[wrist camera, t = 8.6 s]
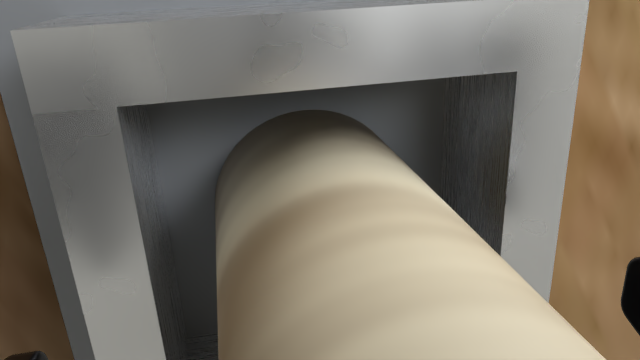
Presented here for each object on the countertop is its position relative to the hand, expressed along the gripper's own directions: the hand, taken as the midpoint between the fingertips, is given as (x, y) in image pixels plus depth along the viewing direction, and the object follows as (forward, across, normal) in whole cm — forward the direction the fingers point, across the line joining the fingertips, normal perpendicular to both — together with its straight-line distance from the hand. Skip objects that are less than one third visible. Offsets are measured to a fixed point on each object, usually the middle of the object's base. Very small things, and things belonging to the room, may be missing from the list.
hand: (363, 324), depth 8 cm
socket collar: (+5, 0, 0) cm, 5 cm away
